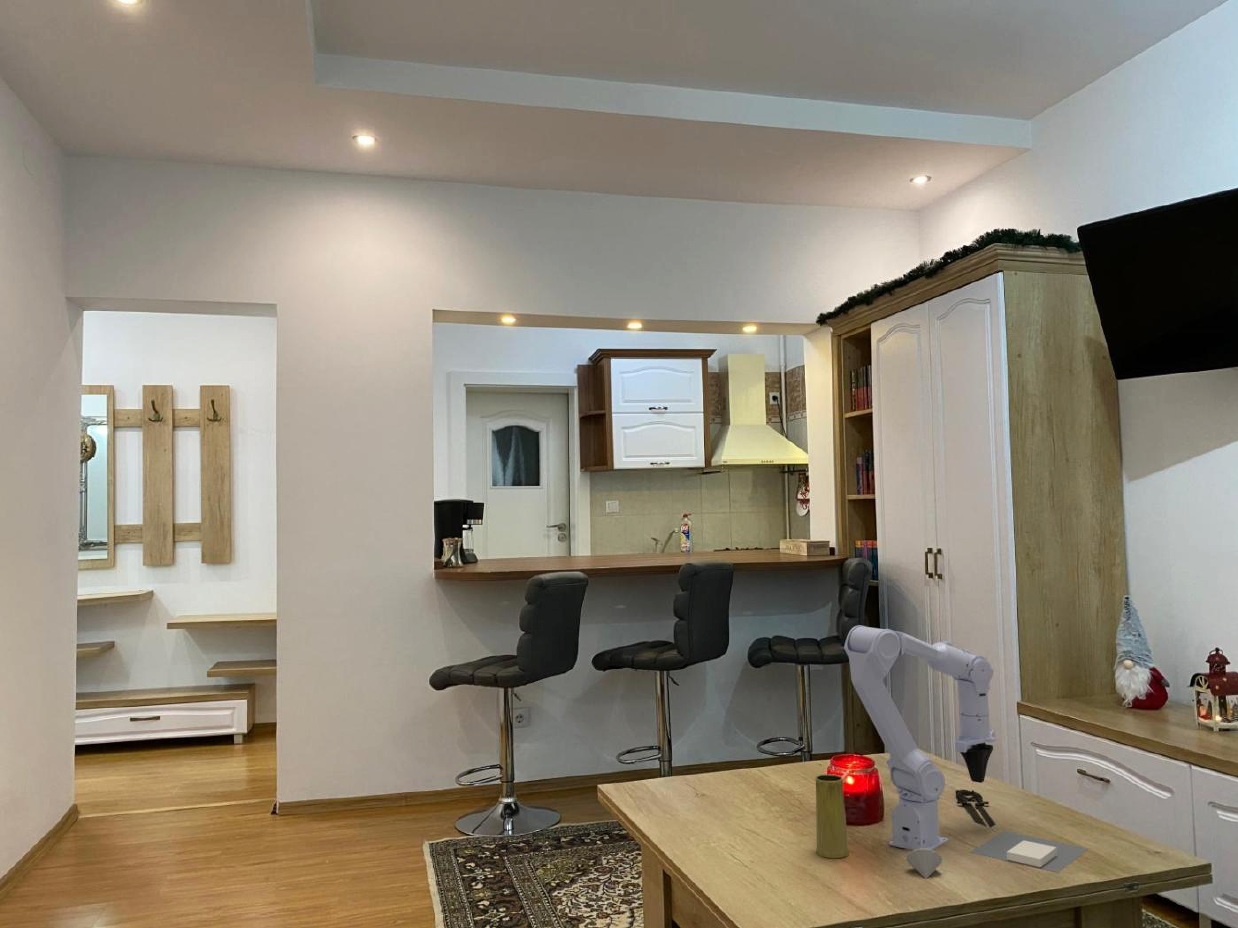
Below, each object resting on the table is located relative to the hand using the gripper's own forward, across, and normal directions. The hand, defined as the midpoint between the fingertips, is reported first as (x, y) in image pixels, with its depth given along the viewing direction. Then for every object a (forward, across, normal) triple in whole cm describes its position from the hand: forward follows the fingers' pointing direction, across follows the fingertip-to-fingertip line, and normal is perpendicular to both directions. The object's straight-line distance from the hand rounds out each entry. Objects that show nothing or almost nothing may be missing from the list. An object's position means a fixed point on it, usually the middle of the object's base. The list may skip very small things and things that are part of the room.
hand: (977, 781), depth 187 cm
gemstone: (+10, -28, -2) cm, 30 cm away
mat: (+10, -6, -12) cm, 17 cm away
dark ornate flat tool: (+11, +13, +6) cm, 18 cm away
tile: (+9, -6, -14) cm, 17 cm away
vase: (+10, -30, +16) cm, 35 cm away
